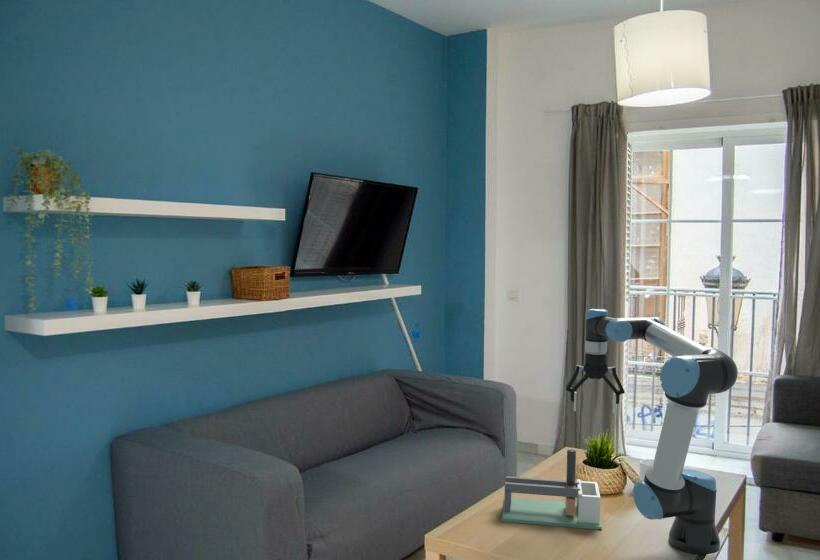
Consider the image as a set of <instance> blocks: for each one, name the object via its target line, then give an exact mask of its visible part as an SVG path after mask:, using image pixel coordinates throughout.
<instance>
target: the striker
mask: <svg viewBox="0 0 820 560" xmlns="http://www.w3.org/2000/svg"><path fill="white" fill-rule="evenodd" d="M576 464H577V451H576V449H567V450H566V480H565V481H566V487H575V481H576V473H577V472H576ZM564 502H565V507H566V515H570V516H575V503H576V498H574V497H565V500H564Z"/></svg>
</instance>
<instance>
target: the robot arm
mask: <svg viewBox="0 0 820 560" xmlns="http://www.w3.org/2000/svg"><path fill="white" fill-rule="evenodd" d="M608 340H609V341H613V342H619V343H620V342H621V343H625V342H626V341H628V340H629V341H630V340H631V341H632V340H643V341H645V342H646V343H649V344H651V345H652V346H654V347H656V348H657V349H660V350H661V351H663V352H665V353H666V354H668V355H669V356H671V358H668V359H667V360H666V361H665V362H664V364H663V365H662V367H661V370H660V373H659V381H660V382H661V383H660V386H661V389H662V391H663V392H664V396H665V398H666V399H667V400H668V402H667V405H666V410H665V414H664V417H663V422H662V426H661V430H660V435H659V439H658V443H657V447H656V451H655V455H654V459H653V460H654V462H653V466H652V467H650V468H648V469H647V470H646V473H645V477H644V480H643V481H637V482H635V483H634V485H633V487H632V496H633V497H632V498H633V501H634V504H635V507H636V508H637V510H638V511H639V513H640V514H641V515H642V516H643V517H644V518H645V519H647V520H651V521H652V520H659V521H660V520H662V519H663V520H664V519H668V518H673V517H674V519H673V522H672V524H671V527H670V530H669V532H668V542H669V543H670V545H671V546H673V547H674V548H676V549H677V550H678V549H679V551H680V550H681V551H683V552H686V553H690V554H698V555H710V554H715V553H717V552H719V551H720V549H721V540H720V536H719V532H718V530H717V527H716V507H717V506H716V505H717V491H718V490H717V481H716V480H717V479H715V477H714V476H712V475H710V474H709V473H707V472H704V471H700V470H696V469H690V468H684V467H685V464H686V460H687V455H688V451H689V448H690V445H691V440H692V436H693V433H694V429H695V426H696V422H697V421H696V420H697V418H698V414H699V411H700V409H702V408H704V407H706V405H707V401H708V399H709V395H715V394H722V393H725V392H727V391H728V390H730V389H731V388H732V387H734V385H735V383H736V382H737V379H738V373H739V372H738V367H737V363H736V362H735V361H734V359H733V358H732V357H730V356H729V355H728V354H727V353H725V352H724V351H722V350H719V349H717V348H716V347H708V348H707V347H706V346H704V345H702V344H701V343H699V342H696V341H694V340H692V339H691V338H688V337H686V336H684V334H683V335H682V334H681V333H679V332H677V331H675V330H672V329H671V328H669V327H667V326H665V325H664V322H663V321H662V319H661V318H659V317H656V316H641V317H640V316H639V317H637V316H635V317H609V311H608V310H607V309H603V308H589V309H587V311H586V315H585V343H584V345H585V346H584V347H585V348H584V350H585V353H584V365H579V364H576V365H575V369H574V372H573V374H572V376H571V377H570V379H569V381H568V382H567V384H566V386H565V390H566V391H567V392H570V402H573V412H577V390H578V389H579V388H580V387H581V386H582V385H583V384H584V382H586V381H587V380H588V379H591V380H595V379H596V380H601V379H603V380H604V381H605V383H606V384H607V385H608V386H609V387H610V389H611V390H612V391H613V392H614V393H612V414H614V415H616V413H617V412H616V411H617V410H616V409H617V405H619V404H620V395H624V394H625V393H626V391H625V389H624V387H623V385H622V383H621V381H620V379H619V377H618V375H617V370H616V367H615V366H614V365H613V366H609V367H608V365H607V362H608V355H607V352H608ZM582 370H583V371H584V373H585V374H583V376H582V377H581V378H580V379H579V380H578V381H577V382H576V383H575V380H576V379H577V377H578V375H579V373H581V371H582ZM607 372H609V373H610V374H612V376H613V379H614V381H615V382H616V385H617V386H618V388H619V389H617V387H616V386H615V385H614V384H613V383H612V381H611V380H610V379H609V378H608V376H607V375H606V374H607ZM574 383H575V384H574ZM573 384H574V386H572V385H573Z"/></svg>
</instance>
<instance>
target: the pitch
mask: <svg viewBox="0 0 820 560" xmlns="http://www.w3.org/2000/svg"><path fill="white" fill-rule="evenodd" d="M512 494H526V495H535V496H536V495H537V496H550V497H574V498H575V499H576V501H575V516H570V515H566V507H565V501H560V500H559V501H557V500H545V499H534V498H520V497H512ZM600 494H601V493H600V488H599V484H598V482H597V481H588V480H587V481H585V480H581V478H580V479H579V478H577V479H576V480H575V487H566V480H564V479H561V480H560V479H549V478H548V479H547V478H539V477H538V478H536V477H534V478H533V477H522V476H521V477H520V476H510V475H508V476H505V482H504V501H503V508H502V514H501V515H502V516H501V522H504V523H505V522H506V523H516V524H517V523H518V524H527V525H528V524H529V525H541V526H550V527H562V526H563V527H564V528H575V529H576V528H578V529H588V530H598V529H602V530H603V525H602V522H601V521H602V520H601V495H600Z"/></svg>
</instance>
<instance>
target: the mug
mask: <svg viewBox="0 0 820 560" xmlns="http://www.w3.org/2000/svg"><path fill="white" fill-rule="evenodd" d="M653 462H654V459H653V458H646V459H645V458H644V459H641V460H640V461H639V477H640V478H641V480H642V481H643V480H644V477H645V473H646V470H647V469H648V468H650V467H652V466H653Z"/></svg>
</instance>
